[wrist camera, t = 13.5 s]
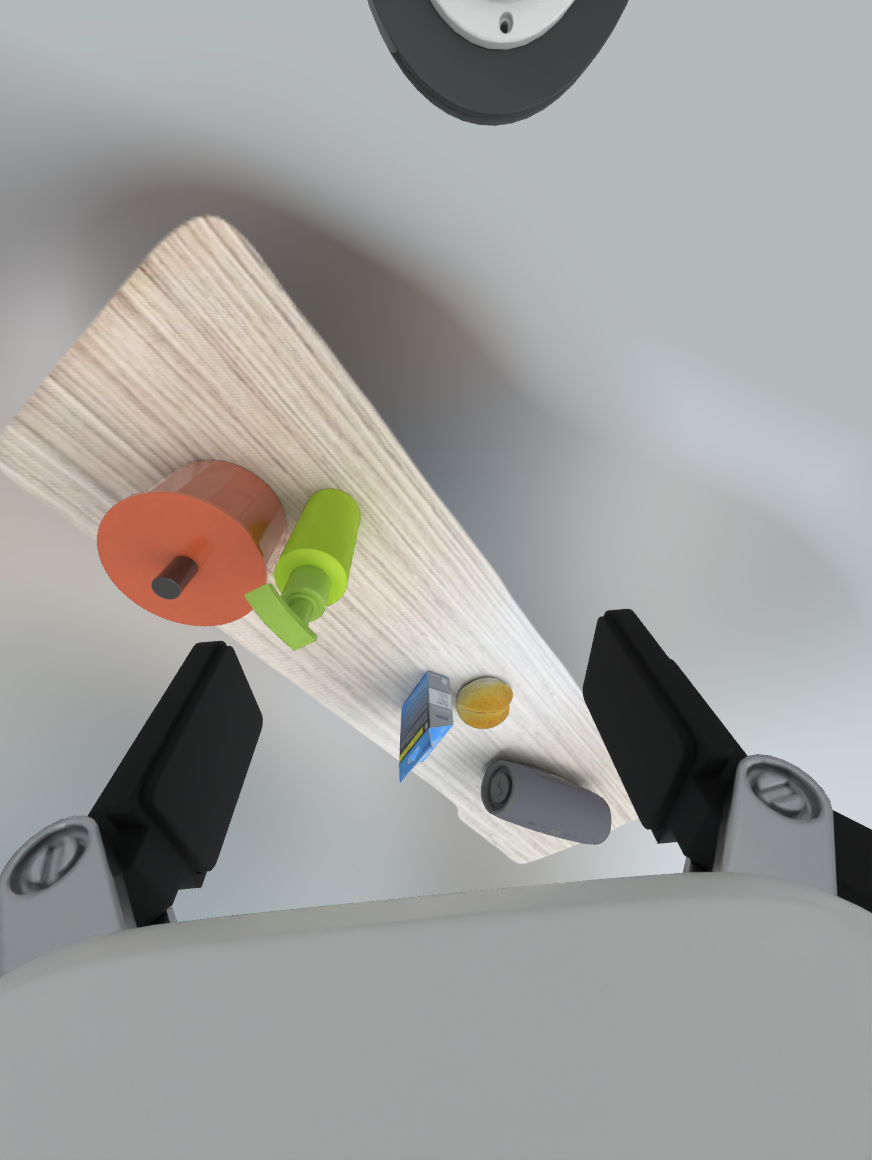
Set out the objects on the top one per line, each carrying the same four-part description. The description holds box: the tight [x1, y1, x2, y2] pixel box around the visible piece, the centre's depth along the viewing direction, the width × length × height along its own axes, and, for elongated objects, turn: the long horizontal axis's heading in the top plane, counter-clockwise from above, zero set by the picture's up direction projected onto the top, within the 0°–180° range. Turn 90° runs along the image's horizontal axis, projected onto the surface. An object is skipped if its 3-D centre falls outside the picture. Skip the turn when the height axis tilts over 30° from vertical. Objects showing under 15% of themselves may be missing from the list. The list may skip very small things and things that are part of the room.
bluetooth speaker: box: [481, 760, 611, 845], centre depth 71 cm, size 23×9×10 cm, turn 56°
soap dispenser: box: [244, 489, 361, 651], centre depth 36 cm, size 6×7×20 cm
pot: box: [145, 460, 287, 574], centre depth 40 cm, size 13×13×10 cm
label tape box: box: [399, 672, 453, 783], centre depth 56 cm, size 9×4×12 cm, turn 152°
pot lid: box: [97, 490, 268, 626], centre depth 35 cm, size 14×14×5 cm
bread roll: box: [456, 678, 513, 729], centre depth 61 cm, size 8×9×4 cm
